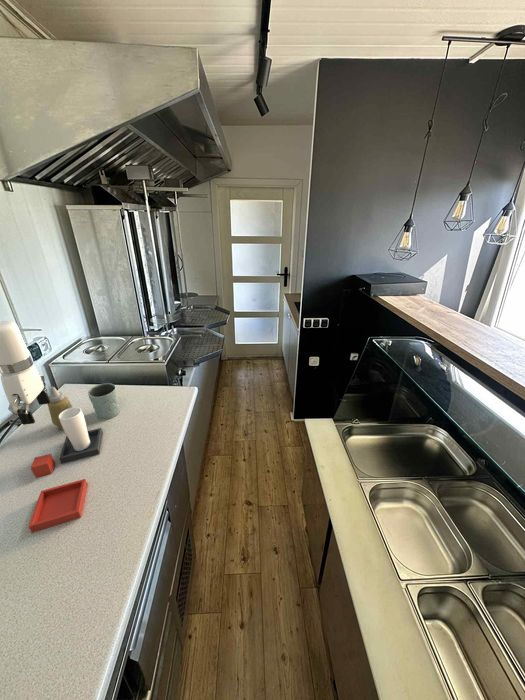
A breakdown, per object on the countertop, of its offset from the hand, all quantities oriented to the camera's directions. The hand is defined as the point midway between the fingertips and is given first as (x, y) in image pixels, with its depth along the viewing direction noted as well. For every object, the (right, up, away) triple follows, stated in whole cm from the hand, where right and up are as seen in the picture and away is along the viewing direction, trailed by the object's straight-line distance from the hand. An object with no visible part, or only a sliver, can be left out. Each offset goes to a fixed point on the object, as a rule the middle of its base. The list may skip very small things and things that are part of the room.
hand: (37, 413), depth 88 cm
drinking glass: (+5, -15, +15) cm, 22 cm away
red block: (-2, -20, +6) cm, 21 cm away
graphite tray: (+5, -16, +15) cm, 22 cm away
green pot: (+5, -7, +33) cm, 34 cm away
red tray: (+11, -26, -6) cm, 29 cm away
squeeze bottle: (-9, -11, +26) cm, 29 cm away
